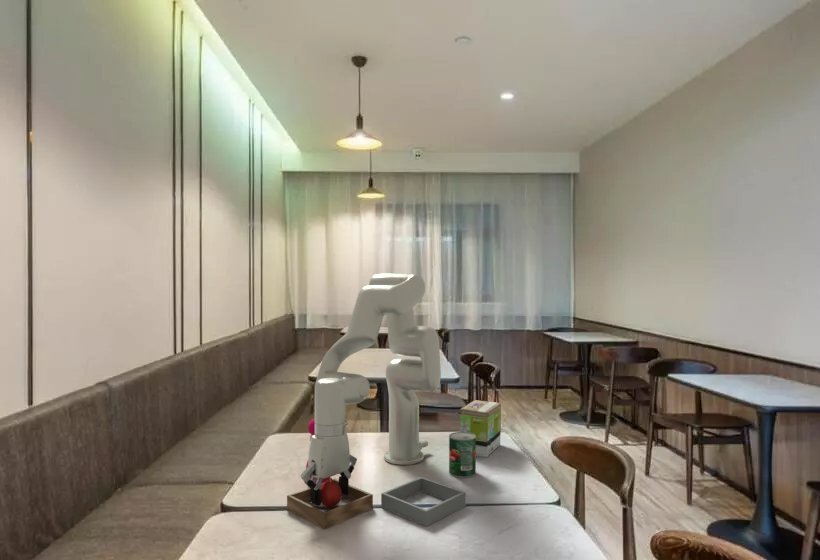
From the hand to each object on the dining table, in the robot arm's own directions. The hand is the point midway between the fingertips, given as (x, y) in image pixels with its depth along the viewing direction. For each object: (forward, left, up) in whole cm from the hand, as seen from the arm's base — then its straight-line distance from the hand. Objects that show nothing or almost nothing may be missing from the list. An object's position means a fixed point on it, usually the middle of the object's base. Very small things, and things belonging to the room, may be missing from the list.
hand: (330, 498), depth 133 cm
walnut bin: (0, 0, -3) cm, 3 cm away
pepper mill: (-8, -15, -3) cm, 17 cm away
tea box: (-63, 0, -3) cm, 63 cm away
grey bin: (-17, +16, -3) cm, 23 cm away
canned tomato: (-42, +9, -3) cm, 43 cm away
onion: (0, 0, -3) cm, 3 cm away
